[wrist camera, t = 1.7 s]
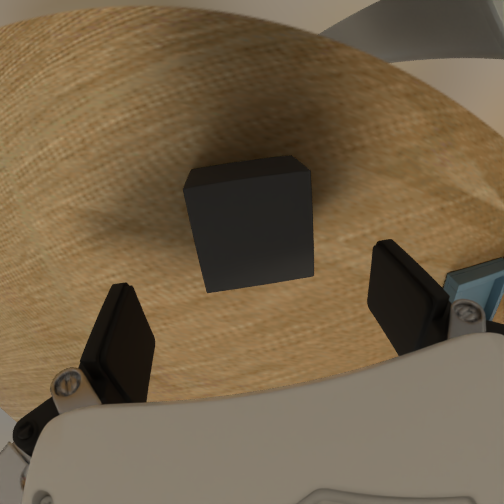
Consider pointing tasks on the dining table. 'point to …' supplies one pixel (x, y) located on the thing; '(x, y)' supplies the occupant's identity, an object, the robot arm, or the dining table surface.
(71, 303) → the dining table surface
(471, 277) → the tray
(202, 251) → the loose pad
